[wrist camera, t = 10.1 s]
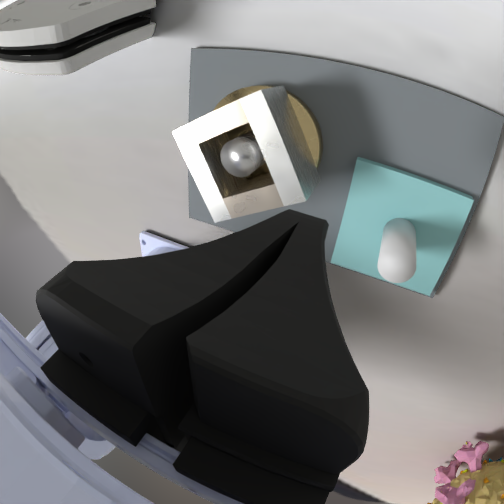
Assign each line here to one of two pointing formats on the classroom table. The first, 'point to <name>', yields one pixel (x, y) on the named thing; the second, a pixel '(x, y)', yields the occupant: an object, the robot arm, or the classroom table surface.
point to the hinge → (68, 33)
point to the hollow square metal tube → (272, 147)
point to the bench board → (354, 129)
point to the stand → (399, 226)
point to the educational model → (471, 478)
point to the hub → (247, 148)
